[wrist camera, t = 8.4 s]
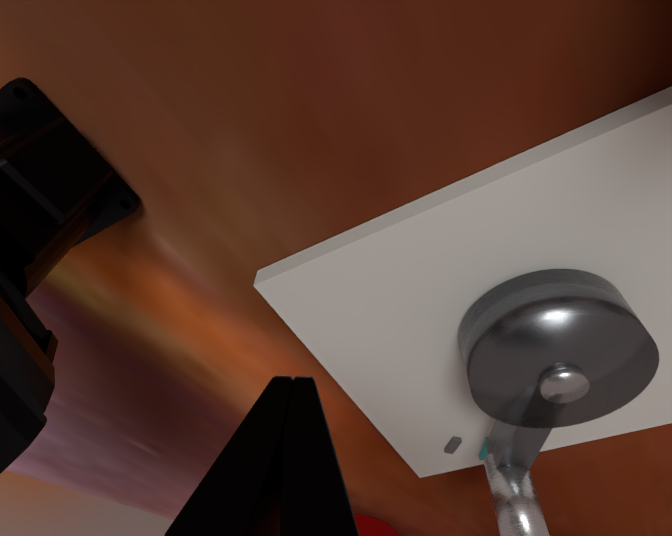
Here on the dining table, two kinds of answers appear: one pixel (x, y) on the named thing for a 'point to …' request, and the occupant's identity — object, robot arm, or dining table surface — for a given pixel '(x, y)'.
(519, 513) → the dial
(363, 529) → the decorative ornament
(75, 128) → the robot arm
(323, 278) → the stand board
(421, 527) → the dining table surface
